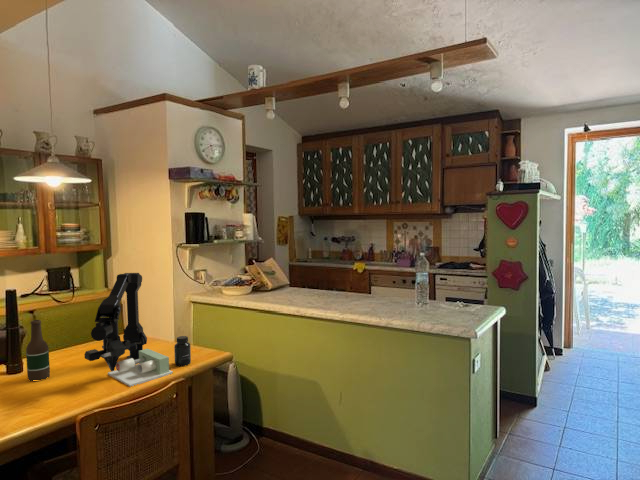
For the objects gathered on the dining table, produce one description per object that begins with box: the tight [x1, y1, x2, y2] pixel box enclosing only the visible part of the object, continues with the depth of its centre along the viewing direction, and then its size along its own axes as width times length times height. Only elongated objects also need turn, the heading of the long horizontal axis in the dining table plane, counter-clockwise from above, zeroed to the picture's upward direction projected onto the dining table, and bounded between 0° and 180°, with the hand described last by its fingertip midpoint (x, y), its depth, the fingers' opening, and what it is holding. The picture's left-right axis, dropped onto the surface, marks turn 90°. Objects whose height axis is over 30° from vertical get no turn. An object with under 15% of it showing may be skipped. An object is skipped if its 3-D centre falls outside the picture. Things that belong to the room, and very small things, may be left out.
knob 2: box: [138, 360, 157, 373], centre depth 181 cm, size 12×4×4 cm, turn 139°
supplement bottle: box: [173, 335, 192, 367], centre depth 193 cm, size 7×7×12 cm
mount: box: [107, 348, 174, 388], centre depth 181 cm, size 20×18×7 cm
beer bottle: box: [25, 319, 51, 382], centre depth 178 cm, size 8×8×24 cm
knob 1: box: [115, 357, 146, 372], centre depth 183 cm, size 12×4×4 cm, turn 139°
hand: (112, 371), depth 178 cm, fingers closed
